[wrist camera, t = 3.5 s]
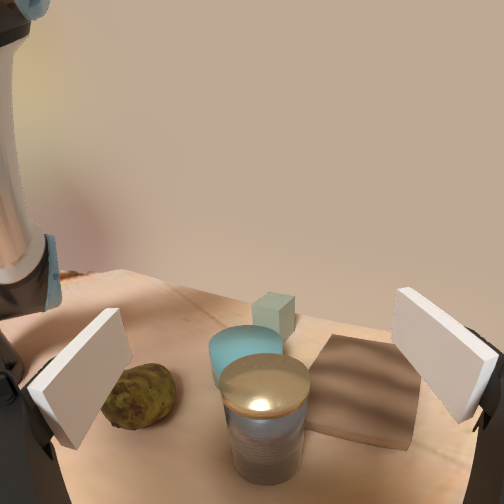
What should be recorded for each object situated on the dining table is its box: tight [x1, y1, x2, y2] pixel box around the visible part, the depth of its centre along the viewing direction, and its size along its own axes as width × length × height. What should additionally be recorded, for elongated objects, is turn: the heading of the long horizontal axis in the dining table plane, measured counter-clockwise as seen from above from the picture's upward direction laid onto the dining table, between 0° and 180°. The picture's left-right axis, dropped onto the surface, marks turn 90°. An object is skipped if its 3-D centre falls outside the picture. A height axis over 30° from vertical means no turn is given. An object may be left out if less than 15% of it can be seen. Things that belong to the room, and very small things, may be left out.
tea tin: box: [219, 353, 311, 485], centre depth 23 cm, size 7×7×12 cm
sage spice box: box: [252, 292, 295, 343], centre depth 49 cm, size 6×5×7 cm
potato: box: [101, 363, 176, 430], centre depth 30 cm, size 8×13×8 cm, turn 155°
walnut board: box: [305, 334, 421, 451], centre depth 34 cm, size 20×16×2 cm
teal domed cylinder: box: [209, 325, 283, 390], centre depth 38 cm, size 10×10×6 cm
